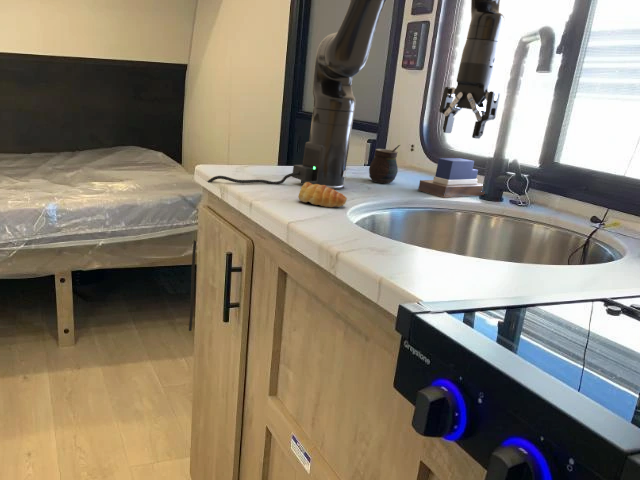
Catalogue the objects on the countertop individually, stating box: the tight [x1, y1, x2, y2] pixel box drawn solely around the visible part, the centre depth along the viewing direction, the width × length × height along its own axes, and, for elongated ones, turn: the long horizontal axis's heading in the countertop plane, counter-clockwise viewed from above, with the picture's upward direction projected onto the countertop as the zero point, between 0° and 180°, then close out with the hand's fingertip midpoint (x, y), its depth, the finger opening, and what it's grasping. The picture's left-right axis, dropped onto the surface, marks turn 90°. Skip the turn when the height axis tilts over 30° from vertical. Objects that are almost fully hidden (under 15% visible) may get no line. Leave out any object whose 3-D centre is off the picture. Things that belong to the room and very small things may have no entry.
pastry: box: [297, 182, 348, 208], centre depth 121 cm, size 9×7×4 cm
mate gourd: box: [368, 144, 401, 184], centre depth 152 cm, size 7×8×10 cm
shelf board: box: [417, 179, 485, 198], centre depth 147 cm, size 16×8×2 cm, turn 122°
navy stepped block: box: [432, 157, 479, 185], centre depth 146 cm, size 11×4×6 cm, turn 122°
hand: (461, 135), depth 142 cm, fingers open, 8 cm apart
